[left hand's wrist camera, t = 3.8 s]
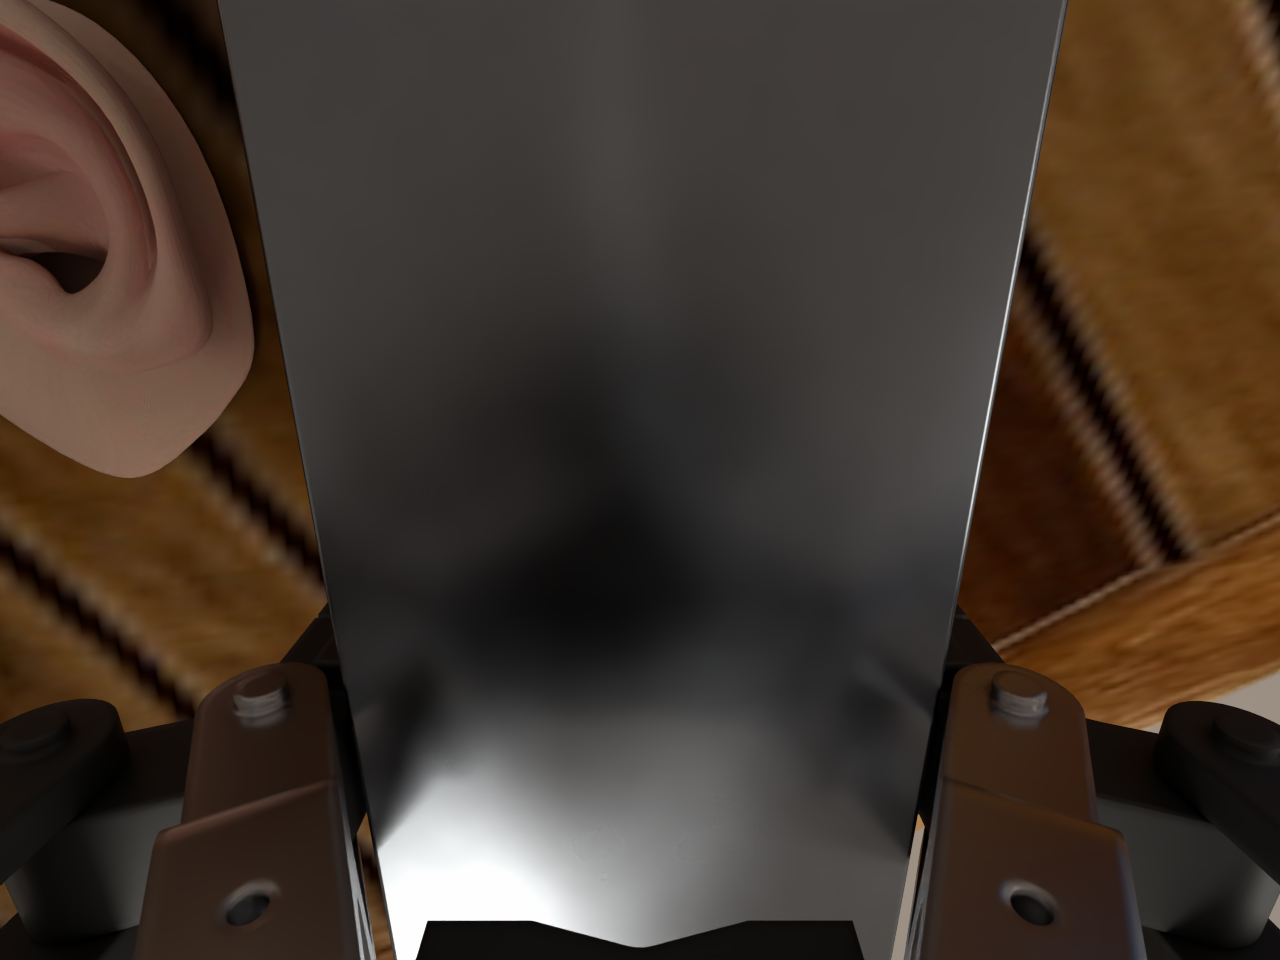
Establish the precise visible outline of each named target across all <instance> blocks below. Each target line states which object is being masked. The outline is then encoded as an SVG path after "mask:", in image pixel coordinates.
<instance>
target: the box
mask: <svg viewBox="0 0 1280 960" xmlns="http://www.w3.org/2000/svg"><path fill="white" fill-rule="evenodd" d="M216 1H217V6H218V12H219V17H220V22H221V28H222V33H223V39H224V44H225V49H226V55H227V60H228V66H229V71H230V76H231V82H232V87H233V93H234V98H235V103H236V109H237V114H238V120H239V125H240V130H241V136H242V141H243V147H244V152H245V157H246V163H247V168H248V174H249V179H250V184H251V190H252V195H253V201H254V206H255V211H256V217H257V222H258V227H259V233H260V238H261V244H262V249H263V254H264V260H265V265H266V271H267V276H268V281H269V287H270V292H271V298H272V303H273V308H274V314H275V319H276V325H277V330H278V335H279V341H280V346H281V352H282V357H283V362H284V368H285V373H286V379H287V384H288V389H289V395H290V400H291V406H292V411H293V416H294V422H295V427H296V433H297V438H298V443H299V449H300V454H301V459H302V465H303V470H304V476H305V481H306V486H307V492H308V497H309V503H310V508H311V513H312V519H313V524H314V530H315V535H316V540H317V546H318V551H319V557H320V562H321V567H322V573H323V578H324V584H325V589H326V594H327V600H328V605H329V611H330V616H331V621H332V627H333V632H334V638H335V643H336V648H337V654H338V659H339V664H340V670H341V675H342V681H343V686H344V691H345V697H346V702H347V708H348V713H349V718H350V724H351V729H352V735H353V740H354V745H355V751H356V756H357V762H358V767H359V772H360V778H361V783H362V789H363V794H364V799H365V805H366V810H367V816H368V821H369V826H370V832H371V837H372V843H373V848H374V853H375V859H376V864H377V870H378V875H379V880H380V886H381V891H382V896H383V902H384V907H385V913H386V918H387V923H388V929H389V934H390V940H391V945H392V950H393V956H394V960H416V957H417V953H418V950H419V947H420V943H421V940H422V937H423V933H424V930H425V927H426V923H427V920H532V921H536V922H540V923H543V924H547V925H551V926H555V927H558V928H562V929H566V930H570V931H574V932H577V933H581V934H585V935H589V936H593V937H596V938H600V939H604V940H608V941H611V942H615V943H619V944H623V945H627V946H632V947H648V946H653V945H657V944H661V943H665V942H669V941H672V940H676V939H680V938H684V937H687V936H691V935H695V934H699V933H703V932H706V931H710V930H714V929H718V928H722V927H725V926H729V925H733V924H737V923H740V922H744V921H748V920H853V923H854V927H855V930H856V933H857V937H858V940H859V943H860V947H861V950H862V953H863V957H864V960H891V957H892V951H893V946H894V941H895V935H896V930H897V924H898V919H899V914H900V908H901V903H902V897H903V892H904V886H905V881H906V875H907V870H908V865H909V859H910V854H911V848H912V843H913V838H914V832H915V827H916V821H917V816H918V811H919V805H920V800H921V794H922V789H923V784H924V778H925V773H926V767H927V762H928V756H929V751H930V746H931V740H932V735H933V729H934V724H935V719H936V713H937V708H938V702H939V697H940V691H941V686H942V681H943V675H944V670H945V664H946V659H947V654H948V648H949V643H950V637H951V632H952V626H953V621H954V616H955V610H956V605H957V599H958V594H959V589H960V583H961V578H962V572H963V567H964V561H965V556H966V551H967V545H968V540H969V534H970V529H971V524H972V518H973V513H974V507H975V502H976V496H977V491H978V486H979V480H980V475H981V469H982V464H983V459H984V453H985V448H986V442H987V437H988V431H989V426H990V421H991V415H992V410H993V404H994V399H995V394H996V388H997V383H998V377H999V372H1000V366H1001V361H1002V356H1003V350H1004V345H1005V339H1006V334H1007V329H1008V323H1009V318H1010V312H1011V307H1012V301H1013V296H1014V291H1015V285H1016V280H1017V274H1018V269H1019V264H1020V258H1021V253H1022V247H1023V242H1024V236H1025V231H1026V226H1027V220H1028V215H1029V209H1030V204H1031V199H1032V193H1033V188H1034V182H1035V177H1036V171H1037V166H1038V161H1039V155H1040V150H1041V144H1042V139H1043V134H1044V128H1045V123H1046V117H1047V112H1048V106H1049V101H1050V96H1051V90H1052V85H1053V79H1054V74H1055V68H1056V63H1057V58H1058V52H1059V47H1060V41H1061V36H1062V31H1063V25H1064V20H1065V14H1066V9H1067V3H1068V0H216Z"/></svg>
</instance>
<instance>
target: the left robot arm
mask: <svg viewBox="0 0 1280 960" xmlns="http://www.w3.org/2000/svg"><path fill="white" fill-rule="evenodd" d="M318 615H319V616H318V618H315V619H314V620H313V622H312V623H311V624H310V625H309V627H308V628H307V629H306V630H305V632H304V633H303V634H302V635H301V637H300V638H299V639H298V640H297V642H296V643H295V644H294V645H293V647H292V648H291V649H290V650H289V652H288V653H287V654H286V655H285V657H284V658H283V659H282V660H281V662H280V663H276V664H270V665H265V666H261V667H258V668H254V669H251V670H248V671H246V672H243V673H241V674H239V675H236V676H234V677H232V678H230V679H229V680H227V681H225V682H223V683H222V684H220V685H219V686H217V687H216V688H215V689H213V690H212V691H211V692H210V693H209V694H208V695H207V696H206V697H205V698H204V699H203V700H202V702H201V703H200V705H199V706H198V708H197V711H196V714H195V718H193V719H189V720H185V721H180V722H175V723H170V724H165V725H160V726H155V727H150V728H145V729H141V730H136V731H131V732H126V733H124V730H123V727H122V724H121V721H120V718H119V715H118V712H117V710H116V708H115V707H114V706H113V705H112V704H110V703H108V702H106V701H103V700H97V699H76V700H69V701H63V702H58V703H54V704H50V705H46V706H43V707H40V708H37V709H34V710H31V711H29V712H26V713H24V714H21V715H19V716H17V717H14V718H12V719H10V720H8V721H6V722H4V723H2V724H1V725H0V885H2V884H3V883H4V882H5V884H6V886H7V889H8V891H9V893H10V895H11V898H12V900H13V902H14V904H15V907H16V909H17V911H18V913H17V914H16V915H14V916H13V917H12V918H11V919H10V920H9V921H8V922H7V923H6V924H5V925H4V926H3V927H2V928H1V929H0V960H376V955H375V948H374V942H373V935H372V928H371V922H370V915H369V908H368V902H367V895H366V888H365V882H364V875H363V868H362V862H361V855H360V849H359V844H358V839H357V832H358V829H359V827H360V825H361V823H362V821H363V818H364V816H365V814H366V813H367V810H366V805H365V799H364V794H363V789H362V783H361V778H360V772H359V767H358V762H357V756H356V751H355V745H354V740H353V735H352V729H351V724H350V718H349V713H348V708H347V702H346V697H345V691H344V686H343V681H342V675H341V670H340V664H339V659H338V654H337V648H336V643H335V638H334V632H333V627H332V621H331V616H330V611H329V605H328V603H327V604H326V605H325V607H324V608H323V609H322V610H321V612H320V613H319V614H318ZM918 814H919V815H920V817H921V819H922V821H923V823H924V826H925V828H924V833H923V839H922V844H921V849H920V855H919V862H918V868H917V875H916V882H915V889H914V895H913V902H912V909H911V915H910V922H909V928H908V935H907V942H906V948H905V955H904V960H1280V929H1279V928H1278V927H1277V926H1276V925H1275V924H1274V923H1273V922H1272V921H1271V920H1270V919H1269V916H1270V913H1271V911H1272V909H1273V907H1274V905H1275V903H1276V900H1277V898H1278V896H1279V894H1280V725H1278V724H1277V723H1275V722H1272V721H1270V720H1268V719H1266V718H1264V717H1262V716H1259V715H1256V714H1254V713H1251V712H1249V711H1246V710H1242V709H1239V708H1236V707H1232V706H1228V705H1224V704H1219V703H1213V702H1205V701H1187V702H1181V703H1178V704H1175V705H1173V706H1171V707H1170V708H1169V709H1168V710H1167V712H1166V713H1165V716H1164V719H1163V722H1162V725H1161V728H1160V732H1159V734H1157V733H1152V732H1148V731H1143V730H1138V729H1133V728H1128V727H1123V726H1118V725H1113V724H1108V723H1103V722H1099V721H1095V720H1091V719H1087V718H1085V714H1084V711H1083V708H1082V706H1081V705H1080V703H1079V702H1078V700H1077V699H1076V698H1075V697H1074V696H1073V695H1072V694H1071V693H1070V692H1069V691H1068V690H1067V689H1065V688H1064V687H1063V686H1061V685H1060V684H1058V683H1057V682H1055V681H1053V680H1051V679H1050V678H1048V677H1046V676H1044V675H1041V674H1039V673H1037V672H1034V671H1032V670H1029V669H1026V668H1022V667H1019V666H1015V665H1010V664H1005V662H1004V661H1003V660H1002V659H1001V658H1000V656H999V655H998V654H997V653H996V651H995V650H994V649H993V648H992V646H991V645H990V644H989V643H988V641H987V640H986V639H985V638H984V636H983V635H982V634H981V633H980V632H979V630H978V629H977V628H976V627H975V625H974V624H973V623H972V622H971V620H970V619H966V614H965V613H964V612H963V610H962V609H961V608H960V607H959V606H958V604H957V605H956V610H955V616H954V621H953V626H952V632H951V637H950V643H949V648H948V654H947V659H946V664H945V670H944V675H943V681H942V686H941V691H940V697H939V702H938V708H937V713H936V719H935V724H934V729H933V735H932V740H931V746H930V751H929V756H928V762H927V767H926V773H925V778H924V784H923V789H922V794H921V800H920V805H919V811H918ZM416 960H864V957H863V953H862V950H861V947H860V943H859V940H858V937H857V933H856V930H855V927H854V923H853V920H748V921H744V922H740V923H737V924H733V925H729V926H725V927H722V928H718V929H714V930H710V931H706V932H703V933H699V934H695V935H691V936H687V937H684V938H680V939H676V940H672V941H669V942H665V943H661V944H657V945H653V946H648V947H632V946H627V945H623V944H619V943H615V942H611V941H608V940H604V939H600V938H596V937H593V936H589V935H585V934H581V933H577V932H574V931H570V930H566V929H562V928H558V927H555V926H551V925H547V924H543V923H540V922H536V921H532V920H427V923H426V927H425V930H424V933H423V937H422V940H421V943H420V947H419V950H418V953H417V957H416Z"/></svg>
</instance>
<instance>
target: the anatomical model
mask: <svg viewBox="0 0 1280 960" xmlns="http://www.w3.org/2000/svg"><path fill="white" fill-rule="evenodd" d="M253 353H254V333H253V322H252V314H251V309H250V303H249V298H248V293H247V288H246V284H245V280H244V276H243V272H242V268H241V263H240V259H239V255H238V251H237V247H236V244H235V241H234V237H233V234H232V230H231V227H230V224H229V220H228V217H227V214H226V211H225V209H224V206H223V203H222V200H221V198H220V195H219V192H218V190H217V187H216V184H215V181H214V179H213V177H212V174H211V172H210V170H209V168H208V166H207V164H206V162H205V159H204V157H203V155H202V153H201V151H200V149H199V146H198V144H197V143H196V141H195V139H194V137H193V136H192V134H191V132H190V131H189V129H188V127H187V125H186V124H185V122H184V120H183V119H182V117H181V115H180V114H179V112H178V111H177V109H176V108H175V106H174V105H173V103H172V102H171V101H170V99H169V98H168V96H167V95H166V93H165V92H164V91H163V89H162V88H161V87H160V86H159V84H158V83H157V82H156V81H155V79H154V78H153V77H152V75H151V74H150V73H149V72H148V71H147V70H146V68H145V67H144V66H143V65H142V64H141V63H140V62H139V61H138V59H137V58H136V57H135V56H134V55H133V54H132V53H131V52H130V51H128V50H127V49H126V48H125V47H124V46H123V45H122V44H121V43H120V42H119V41H118V40H117V39H116V38H114V37H113V36H112V35H111V34H109V33H108V32H107V31H105V30H104V29H103V28H102V27H100V26H99V25H98V24H96V23H95V22H93V21H91V20H90V19H88V18H87V17H85V16H83V15H82V14H80V13H78V12H76V11H74V10H72V9H70V8H68V7H65V6H63V5H60V4H58V3H55V2H52V1H50V0H0V415H2V416H3V417H5V418H6V419H8V420H9V421H11V422H12V423H14V424H15V425H16V426H18V427H19V428H21V429H22V430H24V431H25V432H27V433H28V434H30V435H32V436H33V437H35V438H37V439H38V440H40V441H41V442H43V443H45V444H46V445H48V446H50V447H51V448H53V449H55V450H56V451H58V452H60V453H62V454H64V455H65V456H67V457H69V458H71V459H73V460H75V461H77V462H79V463H81V464H83V465H85V466H87V467H90V468H92V469H94V470H96V471H99V472H102V473H105V474H109V475H112V476H117V477H122V478H135V477H141V476H145V475H148V474H151V473H153V472H155V471H157V470H159V469H161V468H162V467H164V466H165V465H166V464H168V463H169V462H171V461H172V460H174V459H175V458H176V457H178V456H179V455H180V454H181V453H182V452H183V451H184V450H185V449H186V448H187V447H188V446H190V445H191V444H192V443H193V442H194V441H195V440H196V439H197V438H198V437H199V436H201V435H202V434H203V433H204V432H205V431H206V430H207V429H208V428H209V427H210V426H211V425H212V424H213V423H214V422H215V421H216V420H217V419H218V417H219V416H220V415H221V413H222V412H223V411H224V409H225V408H226V406H227V405H228V404H229V402H230V401H231V400H232V398H233V397H234V395H235V394H236V393H237V391H238V390H239V389H240V387H241V385H242V384H243V382H244V381H245V379H246V377H247V374H248V372H249V370H250V368H251V364H252V360H253Z"/></svg>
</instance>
